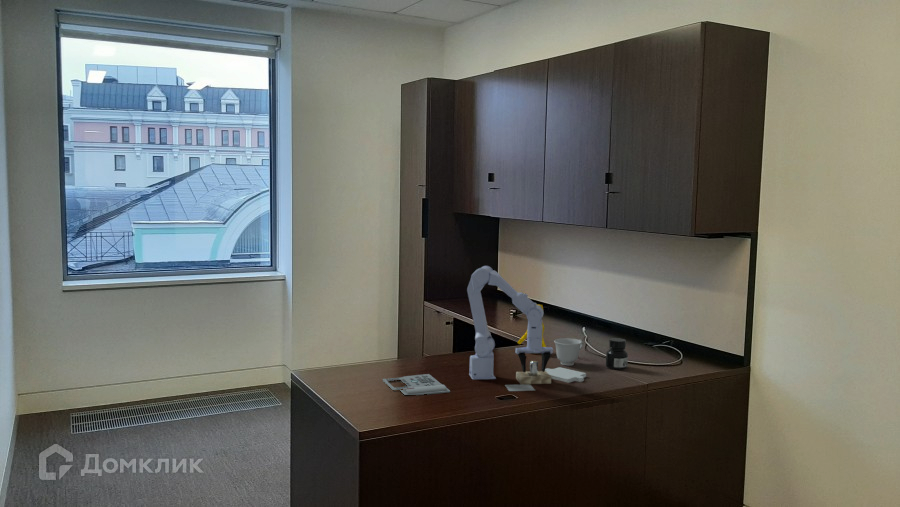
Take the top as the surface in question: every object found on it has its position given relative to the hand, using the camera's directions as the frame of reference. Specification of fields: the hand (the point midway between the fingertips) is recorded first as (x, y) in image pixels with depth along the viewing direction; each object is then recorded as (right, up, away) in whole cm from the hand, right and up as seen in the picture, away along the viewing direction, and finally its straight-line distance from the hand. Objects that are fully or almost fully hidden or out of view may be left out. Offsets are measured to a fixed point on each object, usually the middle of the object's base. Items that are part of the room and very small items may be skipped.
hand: (533, 371), depth 276 cm
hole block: (0, -4, 0) cm, 4 cm away
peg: (0, -4, 0) cm, 4 cm away
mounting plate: (+13, -4, +8) cm, 16 cm away
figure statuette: (+6, 0, +48) cm, 49 cm away
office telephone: (-46, -5, -8) cm, 47 cm away
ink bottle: (+38, -3, +24) cm, 45 cm away
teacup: (+19, -2, +29) cm, 35 cm away
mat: (-6, -5, -9) cm, 12 cm away
